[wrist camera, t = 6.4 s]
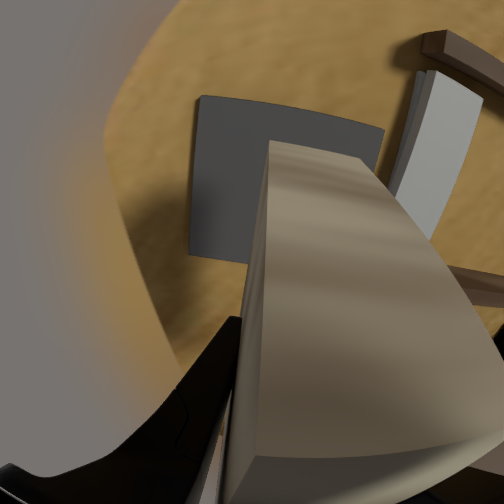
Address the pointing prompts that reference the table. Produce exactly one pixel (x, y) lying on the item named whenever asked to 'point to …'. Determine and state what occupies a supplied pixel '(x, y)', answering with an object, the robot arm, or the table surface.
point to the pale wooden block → (351, 348)
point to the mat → (254, 164)
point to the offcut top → (435, 149)
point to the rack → (499, 80)
